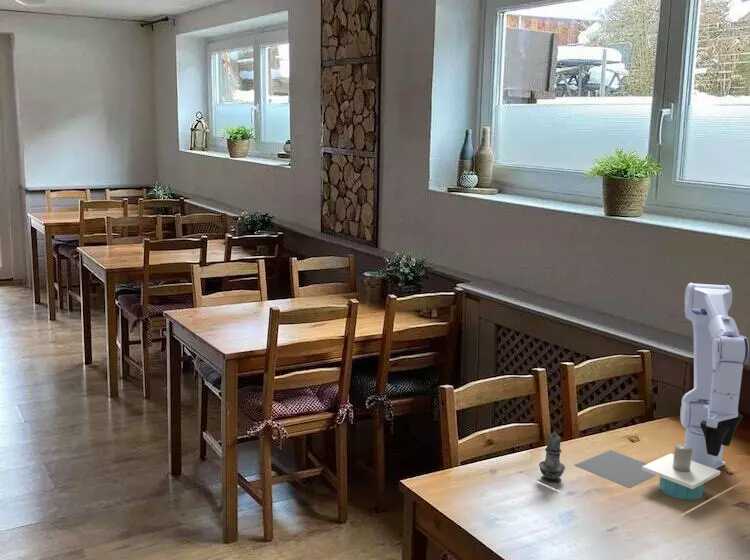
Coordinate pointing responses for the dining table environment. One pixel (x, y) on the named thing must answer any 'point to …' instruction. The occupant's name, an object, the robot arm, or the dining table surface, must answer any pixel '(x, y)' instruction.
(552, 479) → the dark grey turned figure
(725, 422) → the robot arm
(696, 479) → the lid
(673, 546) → the dining table surface
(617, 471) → the mat
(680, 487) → the bowl
